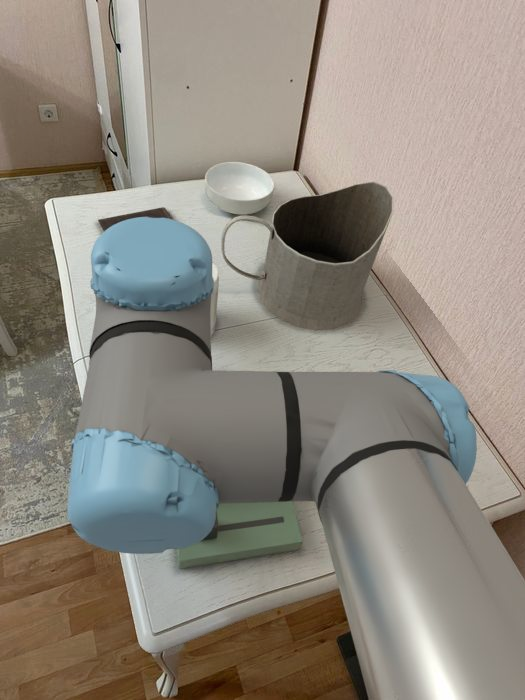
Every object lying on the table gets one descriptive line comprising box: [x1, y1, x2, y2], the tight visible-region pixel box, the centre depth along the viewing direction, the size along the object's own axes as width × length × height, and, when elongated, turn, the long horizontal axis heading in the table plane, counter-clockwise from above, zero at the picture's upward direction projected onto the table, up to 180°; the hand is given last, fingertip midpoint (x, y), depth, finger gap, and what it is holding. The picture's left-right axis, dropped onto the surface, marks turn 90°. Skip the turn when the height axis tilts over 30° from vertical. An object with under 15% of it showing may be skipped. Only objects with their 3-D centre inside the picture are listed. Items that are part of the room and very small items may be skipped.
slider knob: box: [203, 511, 219, 540], centre depth 67 cm, size 3×3×4 cm
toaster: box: [176, 501, 304, 570], centre depth 72 cm, size 19×17×11 cm
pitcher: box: [220, 181, 394, 332], centre depth 98 cm, size 23×32×25 cm
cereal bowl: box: [204, 161, 275, 216], centre depth 124 cm, size 17×17×7 cm
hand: (164, 503), depth 60 cm, fingers closed
